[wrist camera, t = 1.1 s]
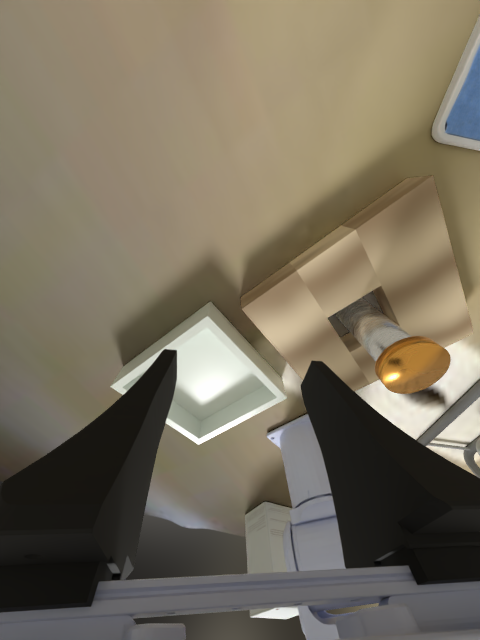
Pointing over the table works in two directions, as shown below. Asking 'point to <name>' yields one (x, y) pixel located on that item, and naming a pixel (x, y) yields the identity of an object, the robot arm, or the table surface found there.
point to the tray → (209, 376)
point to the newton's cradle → (448, 418)
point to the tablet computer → (462, 100)
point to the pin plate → (366, 284)
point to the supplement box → (267, 549)
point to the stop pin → (395, 349)
